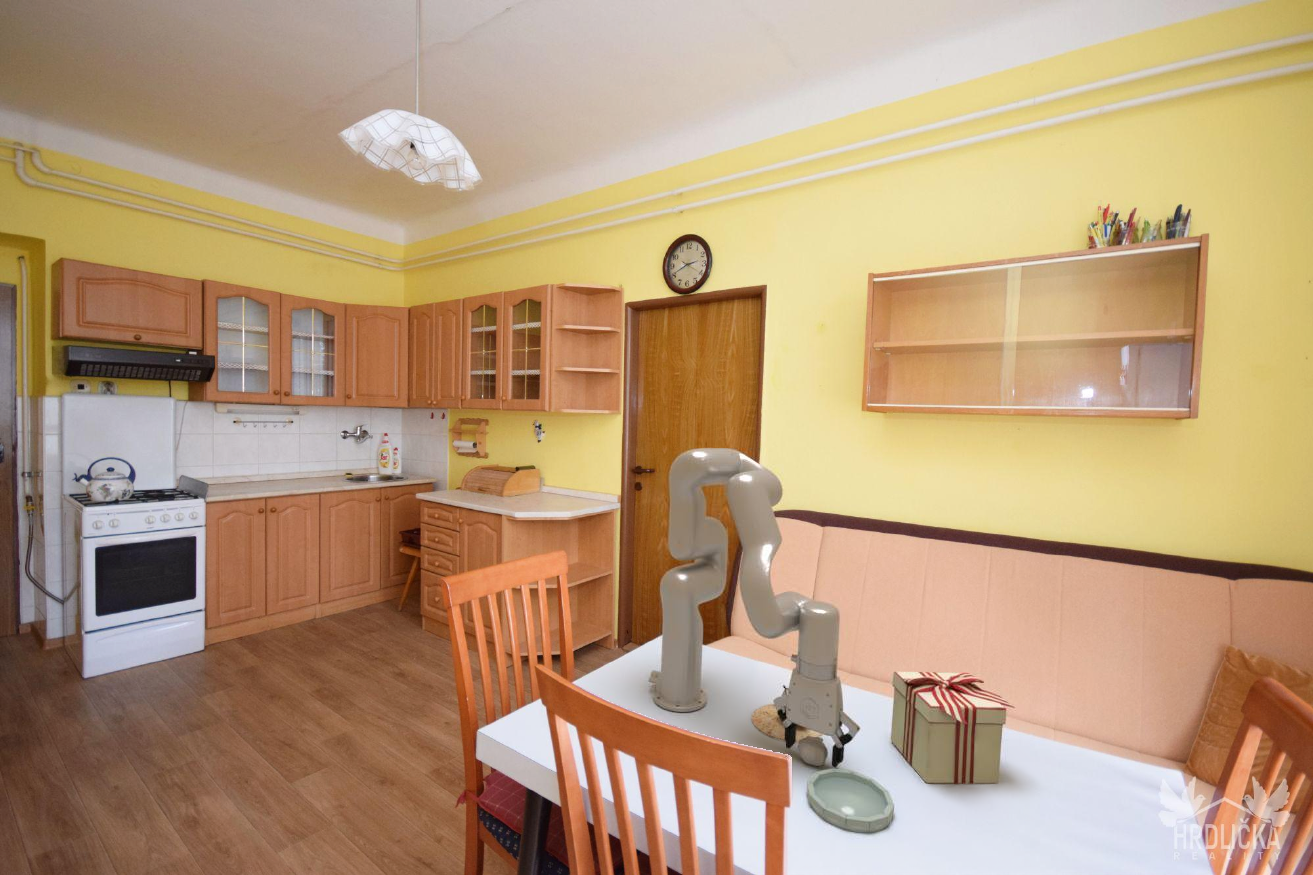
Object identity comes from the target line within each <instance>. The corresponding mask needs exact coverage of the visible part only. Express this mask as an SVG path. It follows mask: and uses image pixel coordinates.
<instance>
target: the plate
mask: <svg viewBox="0 0 1313 875" xmlns="http://www.w3.org/2000/svg"><path fill="white" fill-rule="evenodd" d="M806 790H807V801H808V805H809V806H810V808H811V809H812V810H813V811H814V813H815V814H816V815H817V816H819V817H820V819H822V820H824V821H825V822H827V823H828V824H830V825H833V826H835V827H837V828H840V829H842V830H845V831H849V832H854V833H858V834H859V833H861V834H871V833H876V832H877V833H878V832H879V831H883V830H885V829H887V827H889V826H890V825H891V823H892V821H893V817H894V816H893V814H894V812H895V803H894V801H893V798H892V796H891V793H890V792H889V790H888V789H886V788H885V787H884V786H883V785H881V784H880V783H879V782H878V781H876V780H875V779H874V778H872V777H870V776H868V775H867V776H866V775H864V774H862V773H860V772H857V771H854V770H850V769H841V768H835V767H833V768H832V767H831V768H828V769H827V768H826V769H823V770H819V771H815V772H814V774H812V775H811V777H810V778H809V779H808V780H807V784H806Z"/></svg>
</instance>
